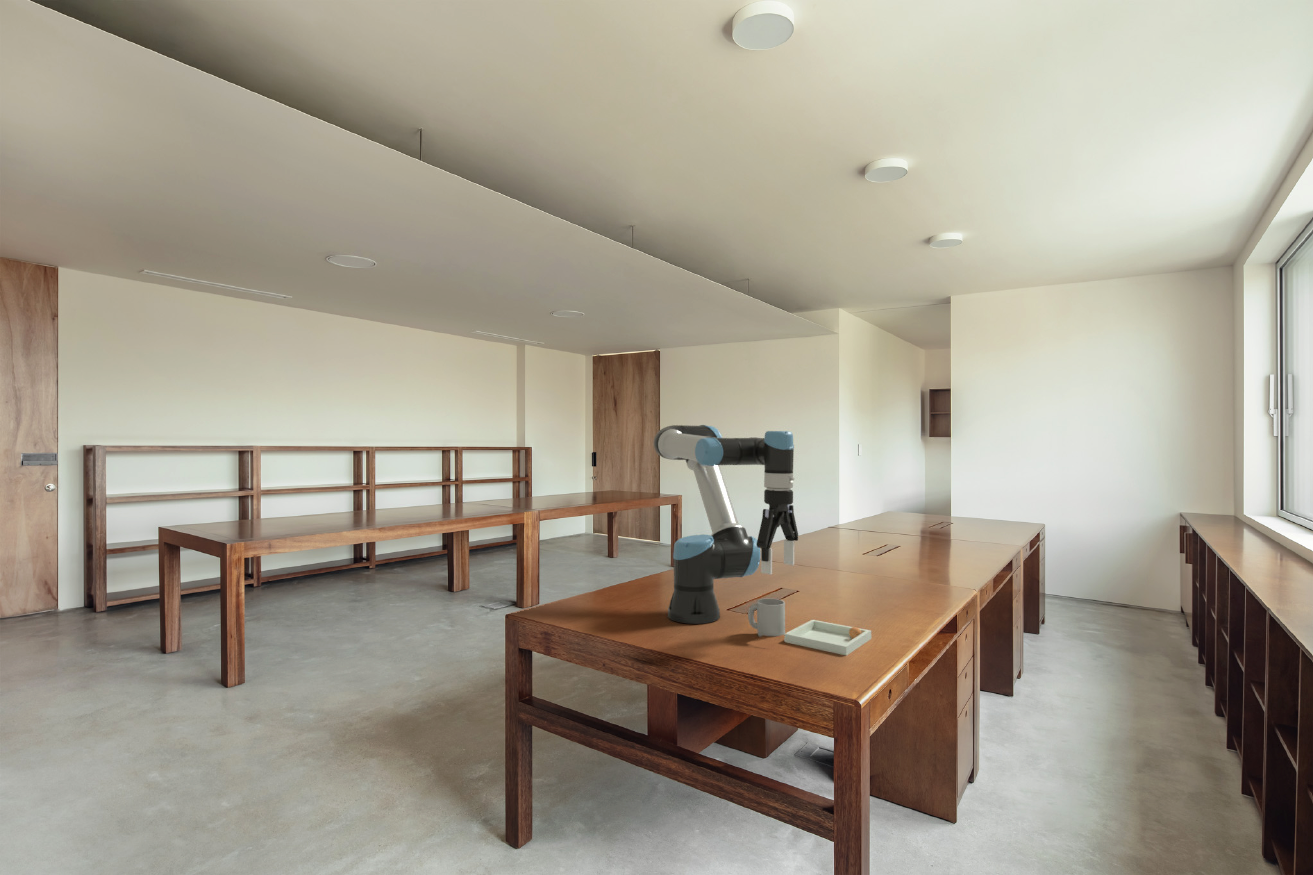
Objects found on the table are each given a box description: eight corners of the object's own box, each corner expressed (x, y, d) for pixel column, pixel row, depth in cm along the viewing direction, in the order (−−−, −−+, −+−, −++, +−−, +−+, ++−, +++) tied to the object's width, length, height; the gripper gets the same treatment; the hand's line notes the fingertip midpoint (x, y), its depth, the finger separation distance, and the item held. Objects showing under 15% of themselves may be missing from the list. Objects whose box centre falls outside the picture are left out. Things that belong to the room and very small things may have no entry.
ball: (847, 639, 155) (847, 627, 155) (851, 636, 157) (851, 624, 157) (858, 641, 153) (858, 629, 153) (863, 638, 155) (863, 626, 155)
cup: (780, 641, 156) (780, 606, 157) (743, 636, 161) (743, 602, 161) (788, 634, 163) (788, 600, 163) (752, 628, 168) (752, 596, 168)
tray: (784, 645, 153) (784, 633, 153) (812, 630, 165) (812, 619, 165) (846, 659, 143) (846, 646, 143) (871, 642, 155) (871, 630, 155)
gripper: (770, 493, 150) (769, 579, 150) (810, 486, 170) (810, 562, 170) (743, 491, 155) (742, 575, 155) (785, 485, 175) (785, 559, 175)
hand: (778, 568), depth 163 cm, fingers open, 13 cm apart
